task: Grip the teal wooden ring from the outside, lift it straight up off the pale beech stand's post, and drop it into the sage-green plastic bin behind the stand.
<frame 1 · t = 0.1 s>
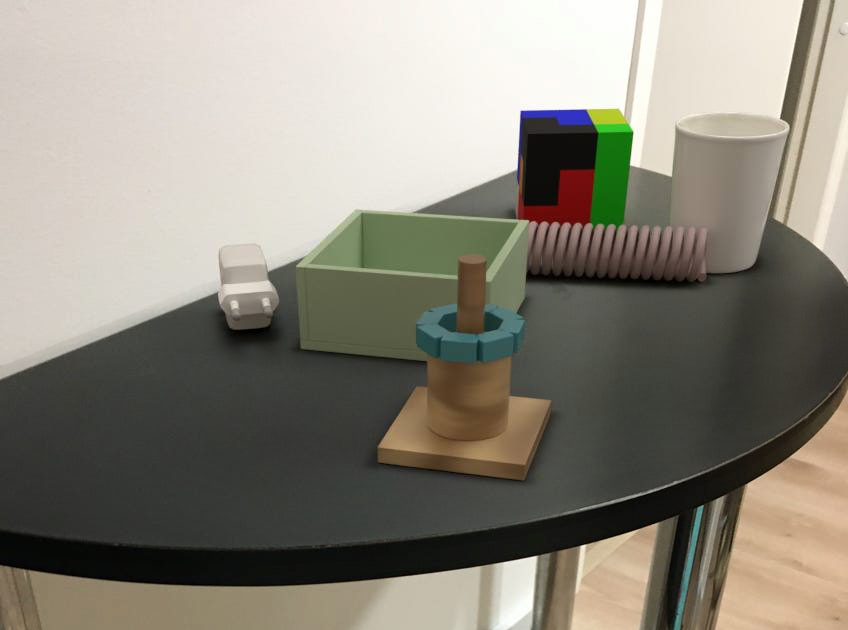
white cup: (710, 261, 106), on the table, touching coil
bin: (417, 322, 95), on the table
power adapter: (250, 333, 94), on the table
puzzle toy: (566, 226, 115), on the table
coil: (605, 278, 103), on the table, touching white cup
stand: (466, 438, 77), on the table
ring: (469, 342, 73), point 7 cm above the table, touching stand
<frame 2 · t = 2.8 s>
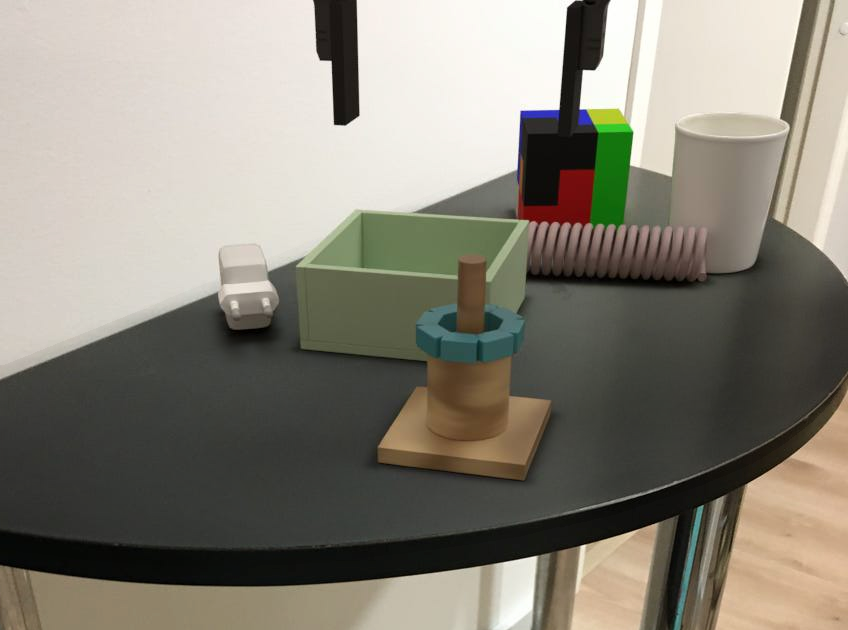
hand: (454, 126, 66), 20 cm above the table, tool pointing down, fingers open, 13 cm apart
white cup: (710, 261, 106), on the table
coil: (605, 278, 103), on the table
everything else where it was.
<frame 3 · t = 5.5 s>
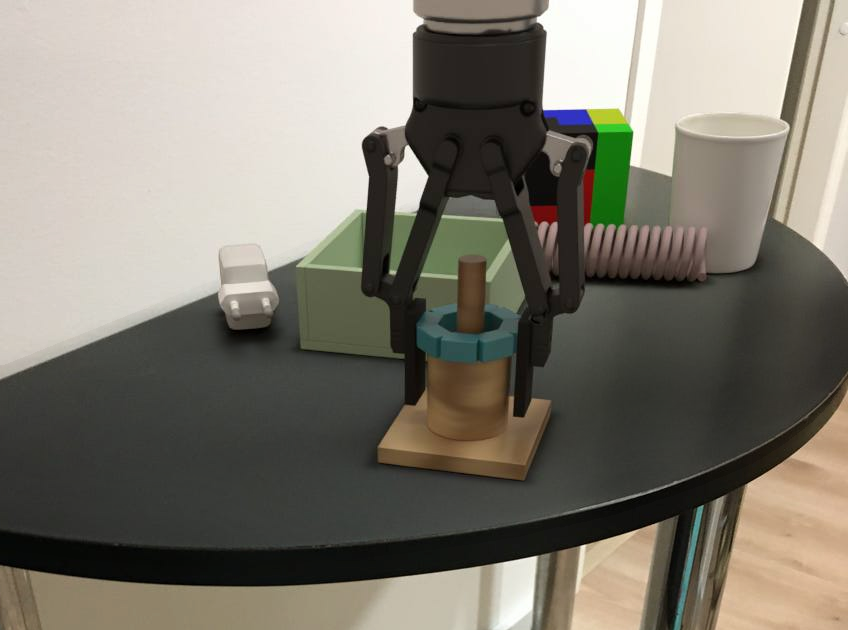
hand: (468, 402, 76), 3 cm above the table, tool pointing down, fingers closed on ring, 7 cm apart
ring: (469, 342, 73), point 7 cm above the table, touching gripper, stand
everything else where it was.
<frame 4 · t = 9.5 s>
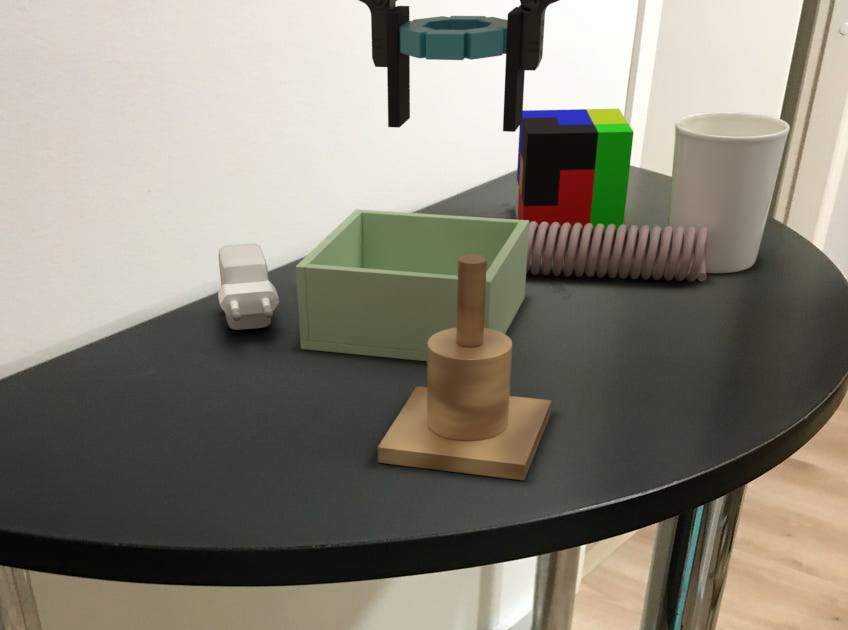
hand: (455, 123, 71), 19 cm above the table, tool pointing down, fingers closed on ring, 7 cm apart
ring: (456, 49, 69), point 23 cm above the table, touching gripper
everything else where it was.
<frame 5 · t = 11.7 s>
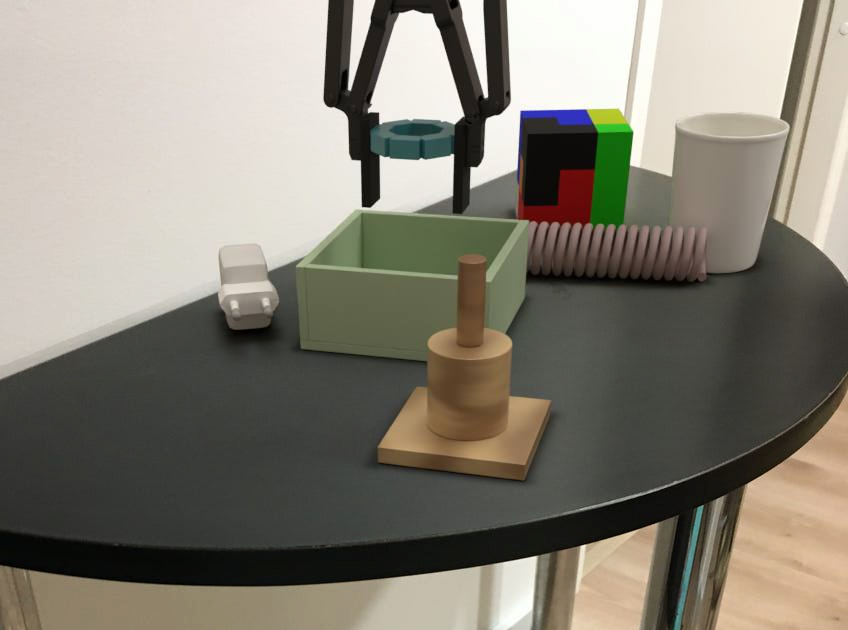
hand: (415, 205, 89), 10 cm above the table, tool pointing down, fingers closed on ring, 7 cm apart
ring: (415, 148, 86), point 14 cm above the table, touching gripper
everything else where it was.
when the fingers open (5 cm above the table, at t = 13.6 s): ring drops 8 cm, resting on bin.
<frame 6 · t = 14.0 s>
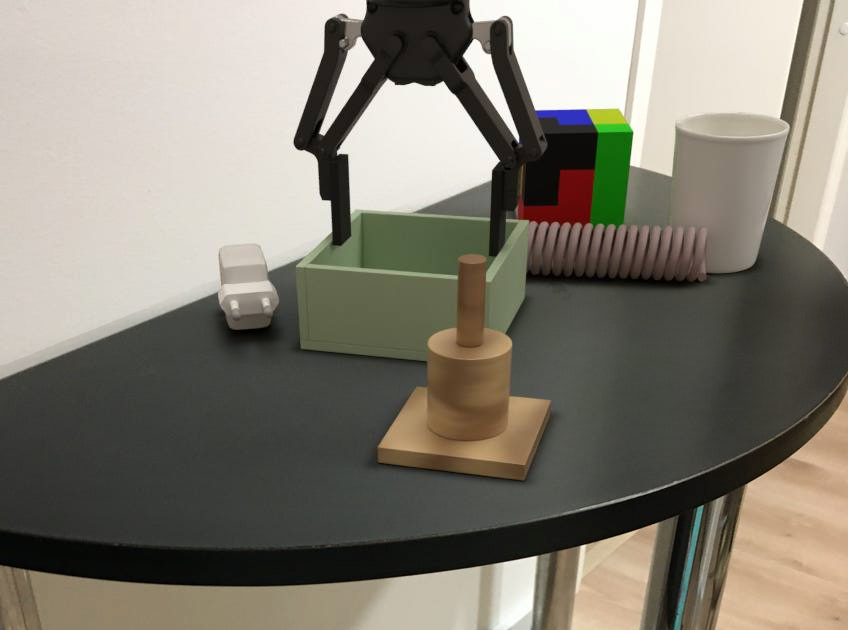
hand: (418, 246, 91), 6 cm above the table, tool pointing down, fingers open, 12 cm apart
ring: (417, 313, 94), point 1 cm above the table, touching bin
everything else where it was.
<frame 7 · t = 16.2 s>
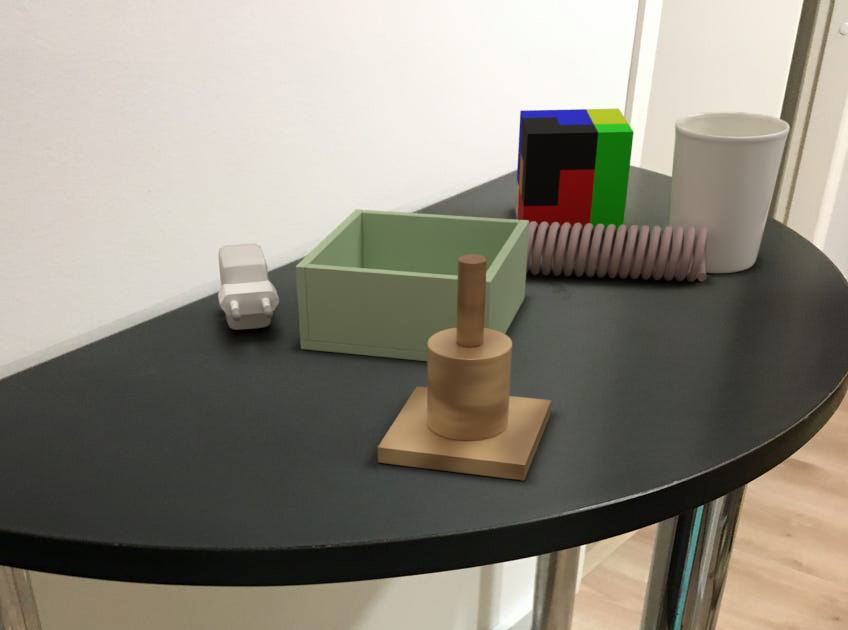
nothing on the table moved.
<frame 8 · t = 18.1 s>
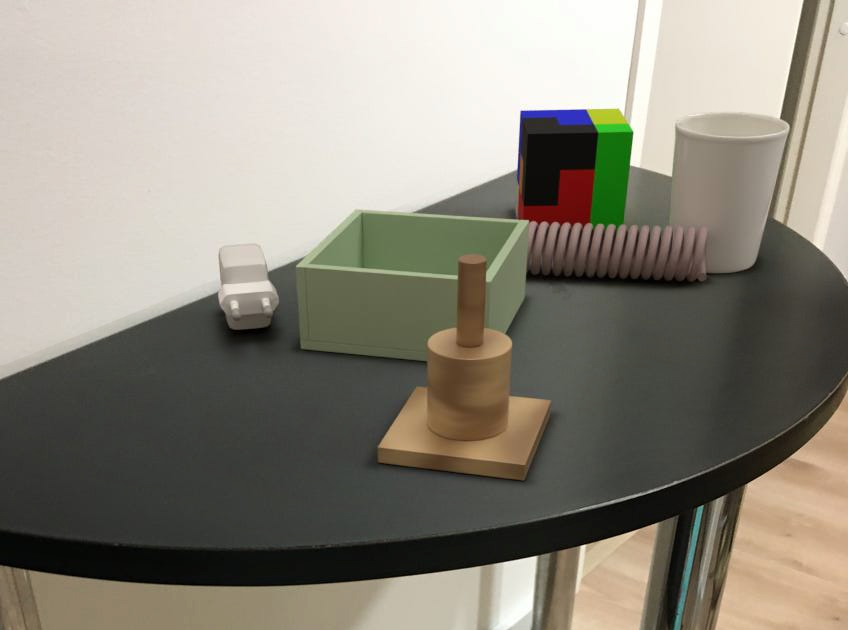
nothing on the table moved.
at the end: ring moved 22.8 cm from its start; ring inside the target area in the bin (0.0 cm from its centre), point 0.8 cm above the bin's base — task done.
